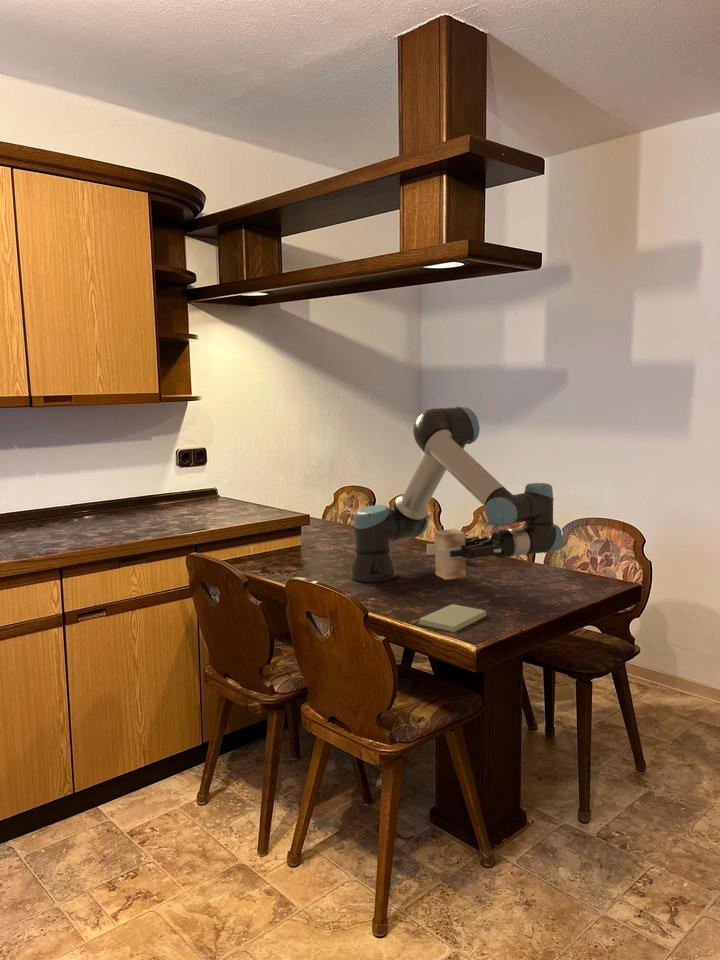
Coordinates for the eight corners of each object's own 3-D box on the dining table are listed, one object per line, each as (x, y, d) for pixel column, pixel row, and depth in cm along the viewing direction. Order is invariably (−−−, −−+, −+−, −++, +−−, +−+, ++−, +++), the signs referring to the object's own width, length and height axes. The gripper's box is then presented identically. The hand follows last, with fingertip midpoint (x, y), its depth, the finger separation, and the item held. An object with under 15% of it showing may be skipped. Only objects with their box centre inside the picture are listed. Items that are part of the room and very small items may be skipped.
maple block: (455, 571, 200) (454, 528, 198) (465, 577, 194) (464, 532, 193) (435, 574, 198) (434, 531, 196) (445, 579, 192) (444, 534, 191)
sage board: (452, 609, 207) (452, 604, 207) (486, 616, 200) (486, 610, 200) (419, 624, 195) (418, 618, 195) (453, 632, 188) (453, 626, 188)
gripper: (528, 563, 192) (448, 574, 185) (492, 549, 210) (418, 558, 203) (527, 535, 191) (447, 545, 184) (491, 524, 209) (417, 532, 202)
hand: (432, 552), depth 193 cm, fingers closed on maple block, 6 cm apart
